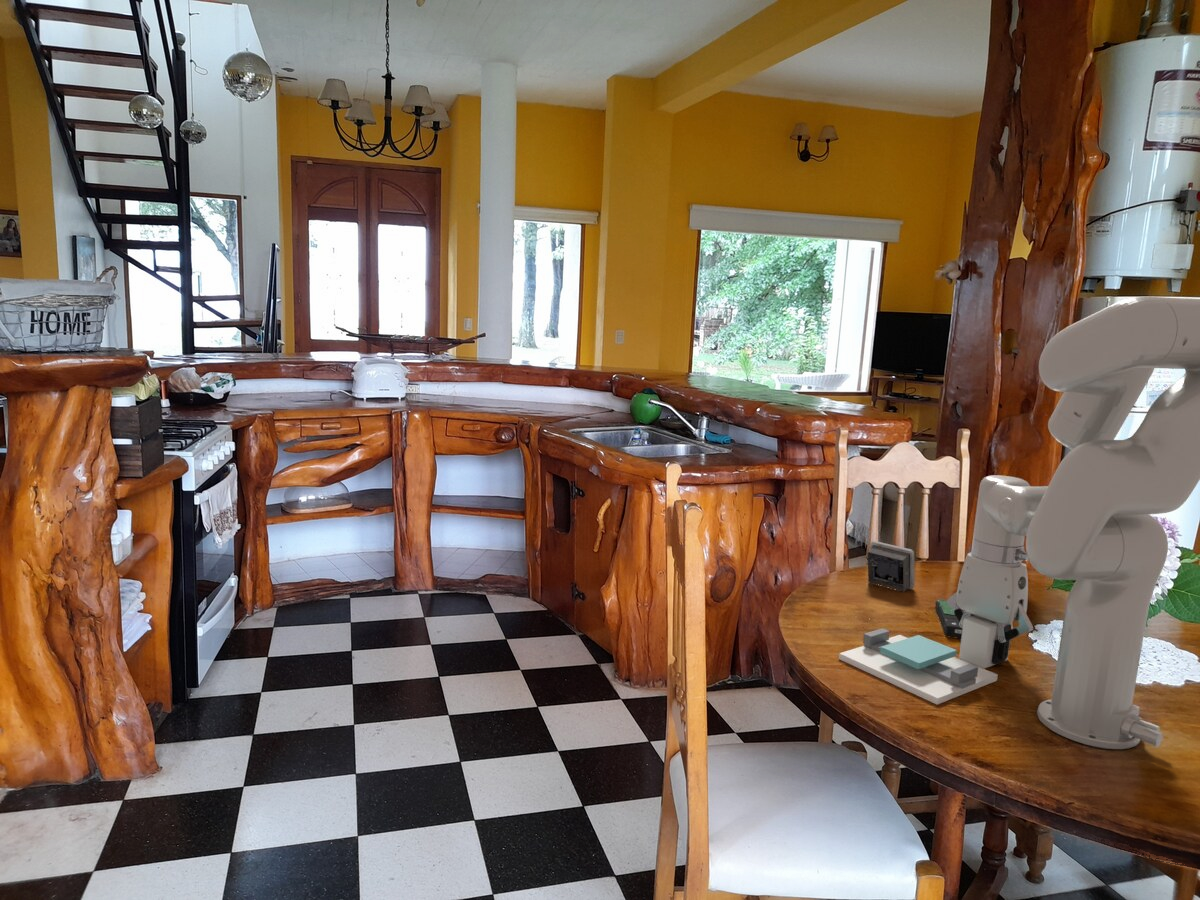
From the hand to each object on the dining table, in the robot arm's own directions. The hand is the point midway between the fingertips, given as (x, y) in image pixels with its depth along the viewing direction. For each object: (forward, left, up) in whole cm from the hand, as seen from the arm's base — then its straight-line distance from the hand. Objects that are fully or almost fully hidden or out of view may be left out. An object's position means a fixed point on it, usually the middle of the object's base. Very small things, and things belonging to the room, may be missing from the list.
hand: (982, 654), depth 138 cm
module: (0, 0, -1) cm, 1 cm away
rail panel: (+3, +14, -1) cm, 14 cm away
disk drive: (+10, -12, -1) cm, 16 cm away
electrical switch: (+31, -17, -1) cm, 35 cm away
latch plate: (+3, +14, +2) cm, 14 cm away
